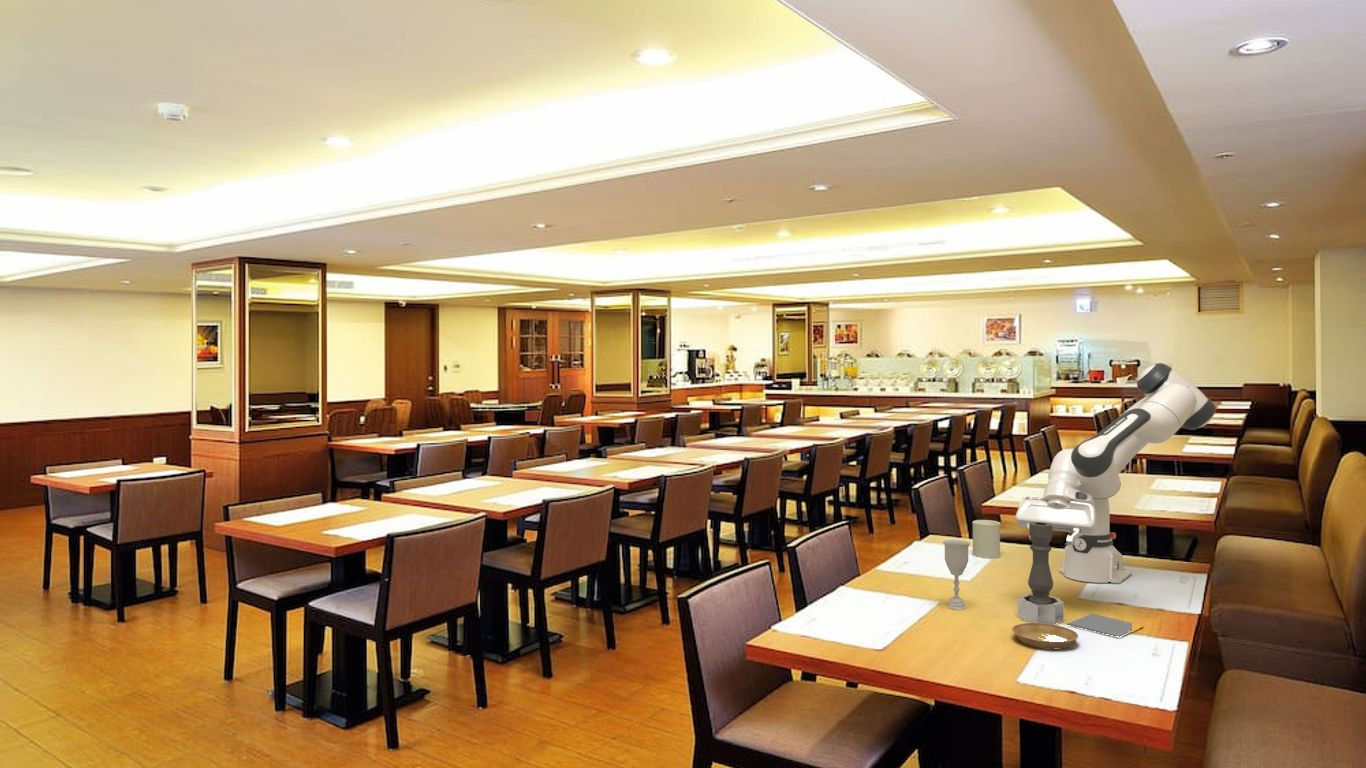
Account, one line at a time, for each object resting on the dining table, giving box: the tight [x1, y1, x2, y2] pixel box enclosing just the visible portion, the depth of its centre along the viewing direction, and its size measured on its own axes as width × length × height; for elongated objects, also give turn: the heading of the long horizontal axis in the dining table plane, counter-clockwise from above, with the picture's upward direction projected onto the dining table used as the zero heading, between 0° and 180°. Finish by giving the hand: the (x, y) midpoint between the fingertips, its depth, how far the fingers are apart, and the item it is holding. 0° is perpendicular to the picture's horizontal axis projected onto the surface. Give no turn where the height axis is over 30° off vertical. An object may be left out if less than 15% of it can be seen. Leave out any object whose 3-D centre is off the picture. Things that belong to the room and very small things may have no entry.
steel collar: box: [1017, 593, 1064, 625], centre depth 222 cm, size 10×10×5 cm
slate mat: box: [1066, 613, 1133, 637], centre depth 214 cm, size 13×13×1 cm
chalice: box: [942, 538, 971, 611], centre depth 233 cm, size 7×7×18 cm
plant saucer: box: [1011, 622, 1079, 650], centre depth 204 cm, size 15×15×3 cm
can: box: [971, 519, 1002, 559], centre depth 292 cm, size 9×9×12 cm
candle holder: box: [1027, 522, 1054, 604], centre depth 222 cm, size 6×6×25 cm
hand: (1050, 541), depth 225 cm, fingers open, 8 cm apart
